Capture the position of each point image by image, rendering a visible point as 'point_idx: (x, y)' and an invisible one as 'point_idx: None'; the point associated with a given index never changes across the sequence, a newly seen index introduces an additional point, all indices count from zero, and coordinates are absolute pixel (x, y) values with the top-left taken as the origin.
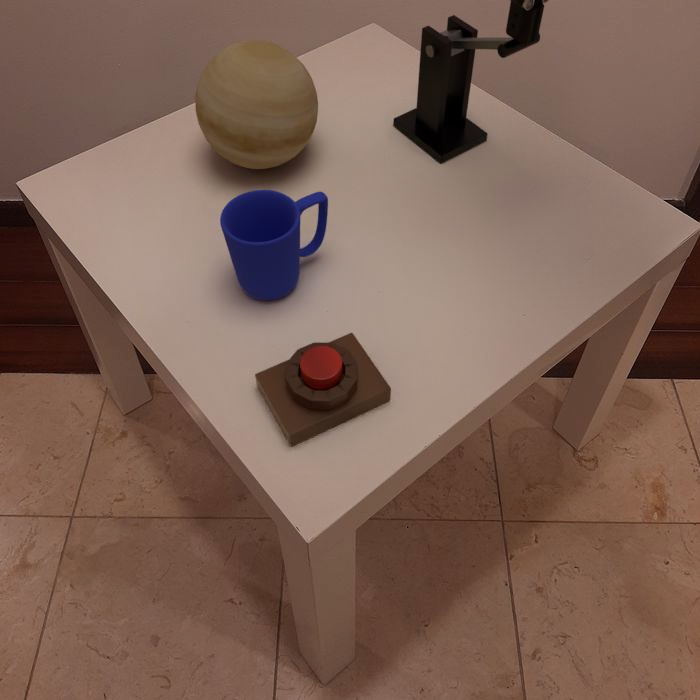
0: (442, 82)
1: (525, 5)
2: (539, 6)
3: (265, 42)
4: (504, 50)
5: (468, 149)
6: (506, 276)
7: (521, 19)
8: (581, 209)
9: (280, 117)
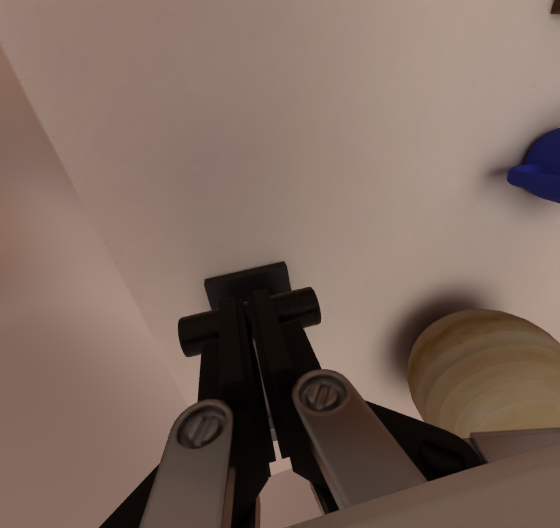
0: None
1: (352, 387)
2: (244, 385)
3: None
4: (317, 300)
5: (237, 272)
6: (328, 10)
7: (309, 354)
8: (141, 83)
9: (527, 342)
